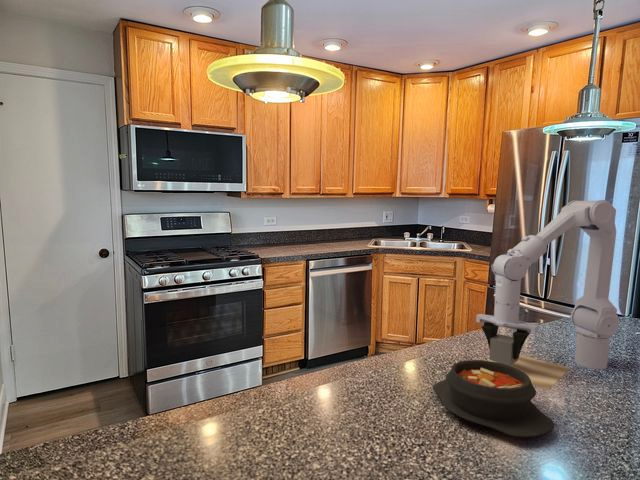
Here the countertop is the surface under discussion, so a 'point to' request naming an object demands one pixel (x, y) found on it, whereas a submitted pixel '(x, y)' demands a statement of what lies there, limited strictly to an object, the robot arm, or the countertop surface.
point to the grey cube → (502, 349)
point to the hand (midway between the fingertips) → (504, 355)
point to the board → (540, 371)
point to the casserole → (493, 398)
